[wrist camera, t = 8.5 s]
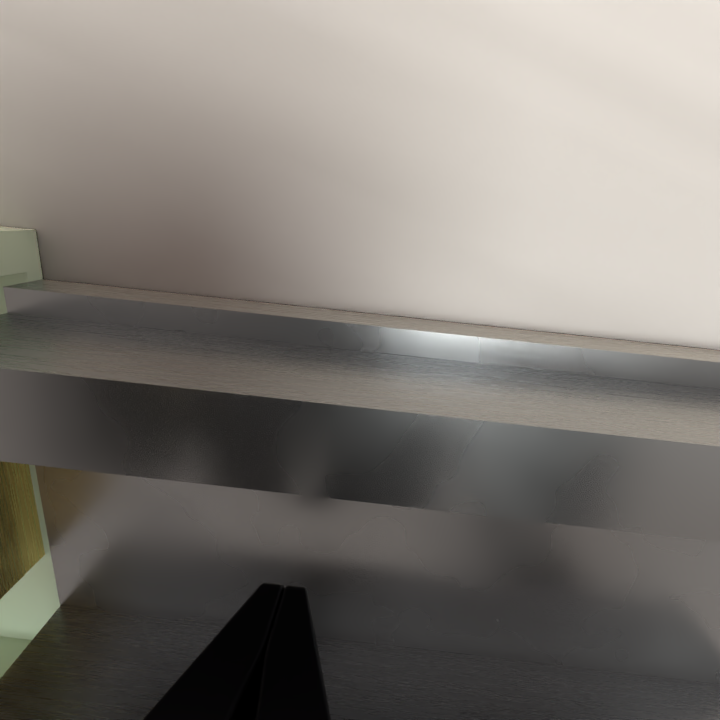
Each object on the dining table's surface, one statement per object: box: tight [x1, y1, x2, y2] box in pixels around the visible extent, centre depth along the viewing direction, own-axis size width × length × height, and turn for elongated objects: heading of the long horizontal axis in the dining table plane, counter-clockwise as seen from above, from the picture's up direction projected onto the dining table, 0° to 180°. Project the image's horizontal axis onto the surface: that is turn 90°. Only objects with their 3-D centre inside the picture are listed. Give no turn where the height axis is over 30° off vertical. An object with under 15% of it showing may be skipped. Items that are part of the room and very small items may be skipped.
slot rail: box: [0, 279, 720, 720], centre depth 9 cm, size 10×17×4 cm, turn 85°
